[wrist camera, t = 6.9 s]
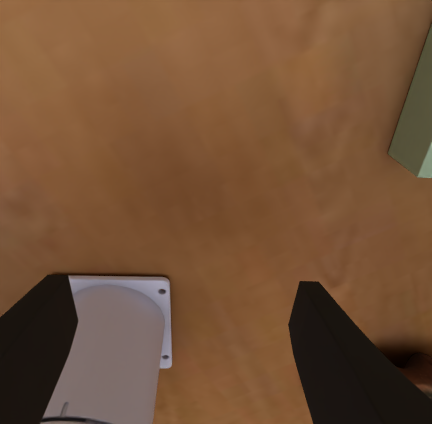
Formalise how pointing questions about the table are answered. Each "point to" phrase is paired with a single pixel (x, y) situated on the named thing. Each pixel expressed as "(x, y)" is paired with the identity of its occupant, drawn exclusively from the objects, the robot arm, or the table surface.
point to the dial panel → (416, 120)
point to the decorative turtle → (419, 372)
